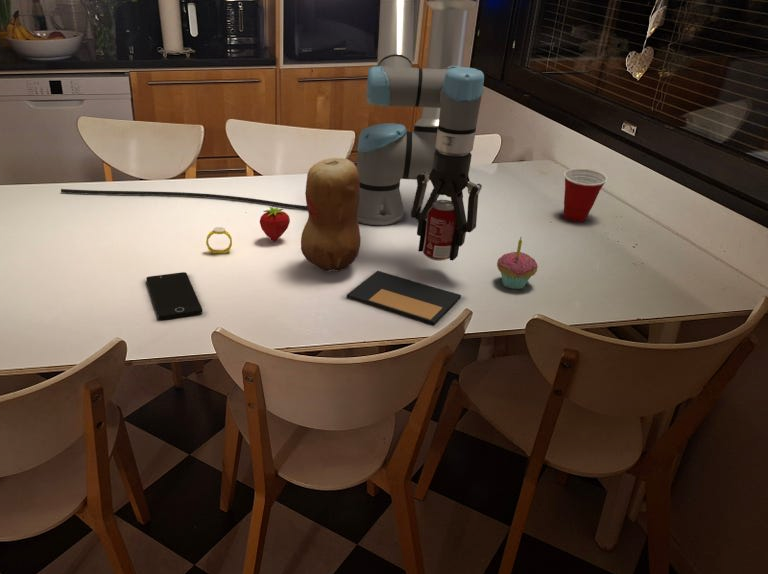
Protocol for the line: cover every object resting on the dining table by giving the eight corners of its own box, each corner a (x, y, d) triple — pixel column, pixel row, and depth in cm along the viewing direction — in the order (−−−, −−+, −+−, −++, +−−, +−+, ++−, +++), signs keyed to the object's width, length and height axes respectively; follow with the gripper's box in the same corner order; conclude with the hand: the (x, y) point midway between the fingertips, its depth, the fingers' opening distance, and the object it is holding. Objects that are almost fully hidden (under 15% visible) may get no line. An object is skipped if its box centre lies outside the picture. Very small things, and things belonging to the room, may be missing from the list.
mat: (346, 297, 145) (346, 294, 144) (377, 273, 155) (377, 270, 154) (433, 325, 136) (434, 321, 135) (460, 298, 145) (461, 294, 145)
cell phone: (159, 320, 136) (158, 316, 135) (146, 280, 150) (145, 276, 149) (203, 313, 138) (202, 309, 137) (186, 275, 152) (185, 271, 152)
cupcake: (526, 296, 146) (538, 245, 140) (487, 286, 150) (498, 235, 143) (537, 281, 152) (549, 231, 146) (499, 272, 156) (510, 222, 149)
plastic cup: (552, 222, 182) (562, 178, 175) (555, 208, 190) (565, 165, 183) (595, 228, 178) (608, 183, 172) (596, 214, 187) (608, 171, 180)
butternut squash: (291, 261, 159) (293, 154, 145) (342, 252, 164) (349, 147, 150) (316, 286, 149) (321, 174, 135) (370, 276, 153) (380, 166, 139)
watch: (206, 255, 161) (205, 231, 158) (206, 250, 163) (205, 227, 160) (232, 254, 162) (231, 231, 158) (231, 249, 164) (231, 226, 161)
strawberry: (293, 244, 167) (293, 205, 162) (263, 248, 165) (263, 208, 160) (285, 235, 172) (285, 196, 166) (256, 238, 170) (256, 200, 164)
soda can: (452, 263, 149) (461, 212, 142) (421, 260, 150) (428, 209, 143) (452, 250, 154) (461, 200, 148) (422, 247, 155) (429, 197, 149)
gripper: (401, 146, 141) (390, 248, 154) (493, 165, 132) (473, 271, 145) (416, 137, 146) (405, 237, 159) (506, 155, 137) (486, 259, 150)
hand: (437, 253), depth 152 cm, fingers closed on soda can, 7 cm apart
